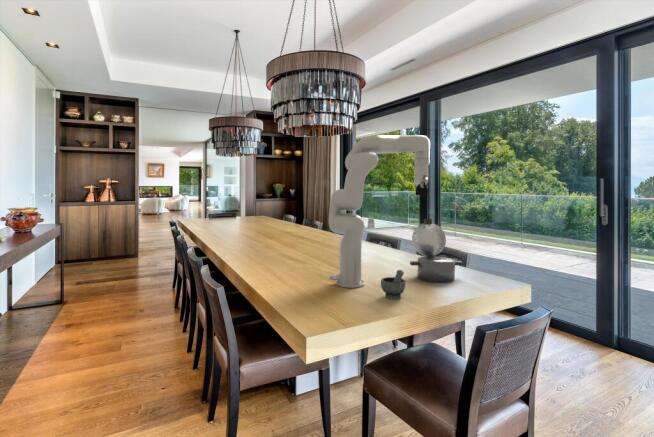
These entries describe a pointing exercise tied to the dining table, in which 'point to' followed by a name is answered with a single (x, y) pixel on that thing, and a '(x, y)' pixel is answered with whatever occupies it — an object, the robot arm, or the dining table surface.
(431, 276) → the pot
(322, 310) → the dining table surface
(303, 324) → the dining table surface
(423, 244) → the pot lid
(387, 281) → the mortar and pestle
